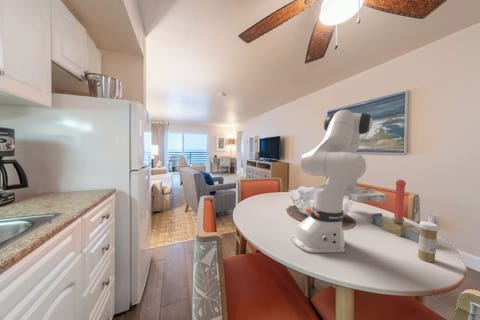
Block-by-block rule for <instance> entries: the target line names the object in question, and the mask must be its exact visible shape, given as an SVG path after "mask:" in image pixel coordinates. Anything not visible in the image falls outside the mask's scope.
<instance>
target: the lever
mask: <svg viewBox="0 0 480 320" xmlns="http://www.w3.org/2000/svg"><path fill="white" fill-rule="evenodd" d="M395 185H396V187H395V200H394V201H395V202H394V204H395V205H394V217H393V218H392V219H393V221H394V222H403V221H405V218H404V205H405V189H406V185H407V183H406V181H405V180H404V179H398V180H396V182H395Z"/></svg>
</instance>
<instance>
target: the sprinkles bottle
mask: <svg viewBox="0 0 480 320" xmlns="http://www.w3.org/2000/svg"><path fill="white" fill-rule="evenodd" d="M419 229H420V235H419V244H418V246H417V247H418V252H417V257H418V258H419V259H421V260H422V261H425V262H428V263H436V253H437V235H438V231H439V225H438V224H436V223H434V222H430V221H423V220H422V221H419Z"/></svg>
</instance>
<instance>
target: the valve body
mask: <svg viewBox="0 0 480 320" xmlns="http://www.w3.org/2000/svg"><path fill="white" fill-rule="evenodd" d="M371 224H372V225H376V226H378V227H380V228H382V230H384V231H386V232H388V233H391V234H393V235H395V236H398V237H400V238H402V237H404V238H406V239H408V240H410V241H412V242H413V241H414V242H415V243H417V244H418V245H419V235H420V228H417V227H415V225H414V224H413V223H409V222H407V221H405V220H404V221H403V222H394V221H393V218H389V217H387V216H384V215H383V213H382V212H374V213H371Z"/></svg>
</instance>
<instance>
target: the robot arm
mask: <svg viewBox="0 0 480 320" xmlns="http://www.w3.org/2000/svg"><path fill="white" fill-rule="evenodd" d="M373 122H374V121H373V118H372V115H371V114H370V113H367V112H362V113H361V112H360V113H359V112H358V113H357V112H352V111H351V110H349V109H340V110H338V111H336V112H335V113H330V114H328V115H326V116H325V118H324V121H323V128H324V129H323V130H324V131H325V134H324V136H323V137H322V139H321V140H320V142H319V143H318V145H316V146H315V147H314V148H312V149H311V150H309V151H307V152H305V153H303V154H302V156H301V157H300V160H299V168H300V169H301V171H302V172H303V173H305V174H308V175H311V176H316V177H324V178H326V179H325V183H324V184H325V185H324V184H322V185H320V186H318V187H317V188H316V189H315V190H314V198H313V199H314V203H313V205H314V206H312V209H311V208H309V207H306V208H305V211H306V213H308V214H309V216H307V217H306V218H305V219H304V220H302V221H301V222H300V223H298V224H297V226H296V229H295V232H294V233H291V234H290V240H291V241H292V242H293V244H294V245H296V246H297V247H298V248H299V249H300V250H302V251H304V252H306V253H345V251H346V249H345V247H346V240H345V237H344V229H343V220H344V209H343V204H344V198H345V197H344V196H347V197H348V198H347V199H350V200H352V201H354V202H357V203H365V202H367V203H368V202H375V203H376V202H377V203H384V202H386V201H387V194H386V193H384V192H381V191H377V190H373V188H365V187H362V186H357V185H358V184H357V182H358V181H357V180H358V179H360V178H362V176H364V174H365V173H366V170H367V161H366V160H365V158H364V157H363V155H361V154H360V153H357V152H358V149H359V147H360V138H361V137H360V135H364V134H365V135H366V134H367V133H369V132H370V130H371V129H372V126H373V124H374V123H373ZM326 182H327V184H326Z"/></svg>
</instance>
